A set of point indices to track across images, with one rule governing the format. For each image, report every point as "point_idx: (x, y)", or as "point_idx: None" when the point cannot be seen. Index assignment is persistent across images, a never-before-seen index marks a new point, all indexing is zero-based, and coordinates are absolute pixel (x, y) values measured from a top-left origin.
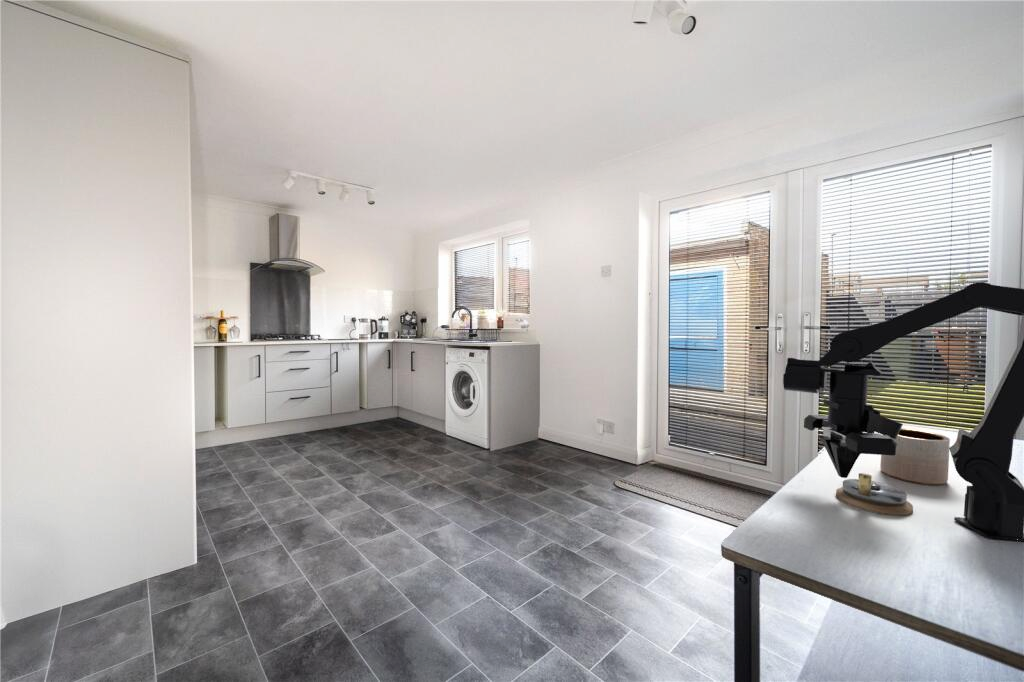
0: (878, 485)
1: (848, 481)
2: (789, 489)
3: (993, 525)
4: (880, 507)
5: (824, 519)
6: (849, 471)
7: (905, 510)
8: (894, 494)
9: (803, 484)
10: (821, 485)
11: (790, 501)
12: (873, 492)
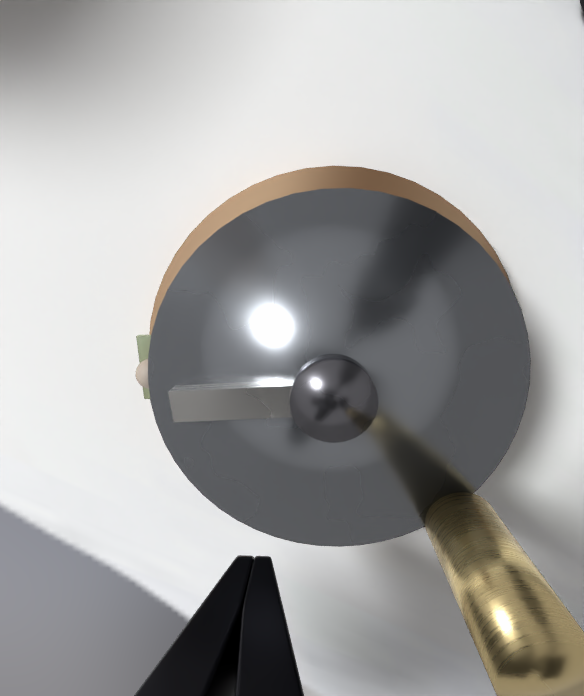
0: (338, 371)
1: (221, 481)
2: None
3: None
4: None
5: None
6: (282, 609)
7: None
8: (453, 322)
9: (138, 558)
10: (124, 484)
11: (374, 693)
12: (426, 448)
